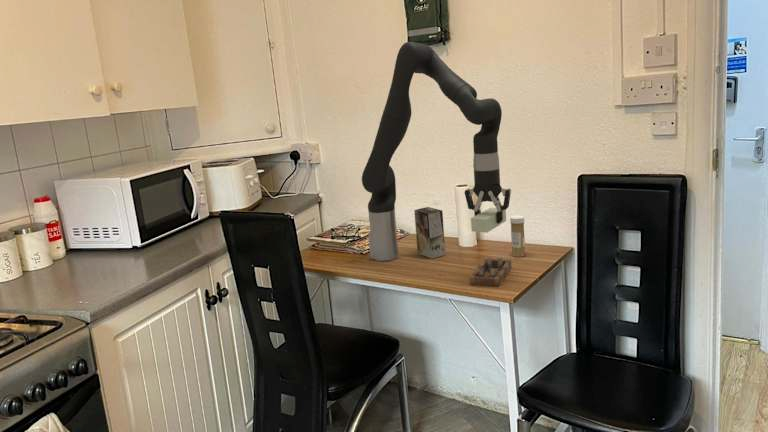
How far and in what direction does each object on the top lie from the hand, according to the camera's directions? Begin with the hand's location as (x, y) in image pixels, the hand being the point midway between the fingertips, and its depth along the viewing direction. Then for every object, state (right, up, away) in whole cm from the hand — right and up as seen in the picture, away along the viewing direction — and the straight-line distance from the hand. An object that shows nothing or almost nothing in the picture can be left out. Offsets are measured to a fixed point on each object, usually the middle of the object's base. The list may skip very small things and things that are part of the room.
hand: (489, 222), depth 187 cm
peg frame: (+1, -16, +4) cm, 17 cm away
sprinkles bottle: (+14, -11, +22) cm, 28 cm away
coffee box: (-15, -12, +31) cm, 36 cm away
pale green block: (0, -1, 0) cm, 1 cm away
